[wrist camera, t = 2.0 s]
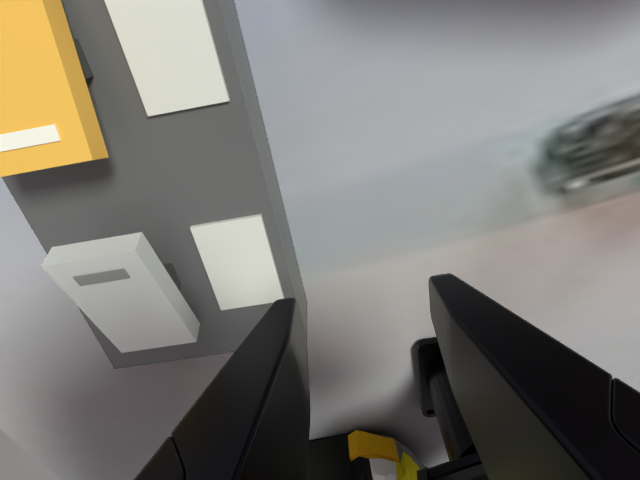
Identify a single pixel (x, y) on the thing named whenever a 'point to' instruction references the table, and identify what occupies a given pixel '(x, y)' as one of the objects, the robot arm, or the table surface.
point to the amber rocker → (43, 92)
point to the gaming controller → (361, 458)
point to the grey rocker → (124, 291)
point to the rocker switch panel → (174, 166)
